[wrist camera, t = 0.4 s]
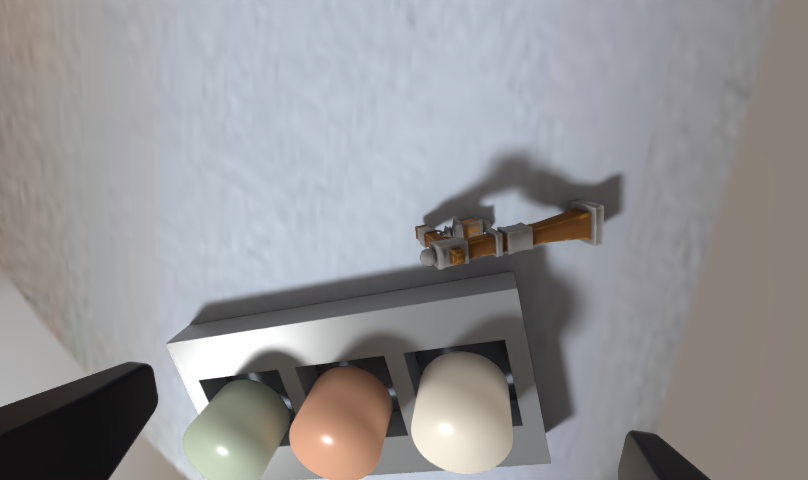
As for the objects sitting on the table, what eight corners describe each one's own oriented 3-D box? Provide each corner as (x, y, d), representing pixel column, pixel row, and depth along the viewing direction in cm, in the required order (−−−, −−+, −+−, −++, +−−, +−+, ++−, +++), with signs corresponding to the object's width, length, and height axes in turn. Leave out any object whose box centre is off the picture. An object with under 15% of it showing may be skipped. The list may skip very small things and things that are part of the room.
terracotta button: (401, 431, 23) (391, 478, 20) (326, 438, 24) (306, 483, 21) (380, 361, 22) (365, 401, 19) (301, 371, 23) (276, 410, 20)
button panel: (545, 434, 24) (551, 463, 22) (247, 458, 28) (231, 484, 26) (513, 271, 21) (517, 288, 19) (188, 325, 25) (165, 344, 24)
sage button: (300, 440, 24) (277, 485, 21) (232, 446, 25) (202, 490, 22) (274, 374, 23) (246, 414, 20) (204, 383, 24) (169, 422, 21)
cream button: (515, 421, 22) (521, 470, 19) (430, 428, 23) (424, 476, 20) (499, 345, 20) (503, 386, 18) (410, 357, 21) (400, 397, 19)
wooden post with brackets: (395, 217, 20) (424, 243, 16) (546, 189, 22) (607, 206, 18) (400, 253, 21) (429, 287, 17) (547, 223, 23) (606, 247, 18)
